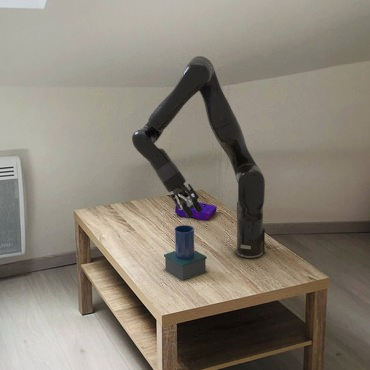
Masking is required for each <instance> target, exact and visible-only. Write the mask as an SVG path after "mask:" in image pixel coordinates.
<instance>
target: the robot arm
mask: <svg viewBox="0 0 370 370" xmlns="http://www.w3.org/2000/svg"><path fill="white" fill-rule="evenodd" d="M198 92H199V93H200V96H201V98H202V100H203V104H204V108H205V113H206V117H207V121H208V123H209V126H210V129H211V131H212V133H213V135H214V137H215V139H216V141H217V142H218V144H219V146H220V147H221V149H222V150H223V152H224V153H225V154H226V156H227V157H228V159H229V161H230V164H231V167H232V169H233V172H234V176H235V180H236V183H237V201H236V254H237V256H238V257H241V258H245V259H255V258H256V259H257V258H258V257H259V258H260V257H261V256H262V255H263V253H264V254H265V240H266V237H265V235H266V229H265V227H264V204H265V195H266V194H265V191H266V180H265V176H264V174H263V172H262V170H261V168H260V167H259V166H258V164H257V163H256V161H255V160H254V158H253V156H252V154H251V152H250V151H249V149H248V146H247V143H246V138H245V137H244V133H243V130H242V128H241V125H240V123H239V121H238V119H237V116H236V115H235V113H234V111H233V109H232V107H231V105H230V102H229V101H228V99H227V97H226V95H225V93H224V91H223V89H222V87H221V84H220V82H219V79H218V76H217V73H216V70H215V67H214V64H213V63H212V61H211V60H210V59H208V58H207V57H205V56H202V55H196V56H194V57H193V58H191V60H190V61H189V62H188V63H187V64H186V66H185V68H184V71H183V72H182V75H181V77H180V78H179V80H178V82H177V84H176V86H175V87H174V88H173V89H172V91H171V92H170V93H169V94H167V96H166V97H164V99H163V100H162V101H161V102H160V103H159V104H158V105H157V107H156V108H155V109H154V110H153V112H151V114H150V115H149V117H148V119H147V120H148V121H147V123H145V125H143V127H142V128H140V129H137V130H136V131H134V132H133V133H132V135H131V142H132V145H133V147H134V148H135V150H136V151H137V152H138V153H139V154H140V156H142V157H143V158H144V159H145V160H146V161H148V162H149V164H150V166H151V167H152V169H153V170H154V172H155V174H156V176H157V177H158V179H159V181H160V182H161V183H162V185H163V186H164V188H165V190H166V191H167V192H168V193H172V194H171V195H170V198H171V199H172V201H173V202H174V204H175V207H176V206H177V207H178V209H180V208H181V209H183V210H184V212H185V213H186V215H187V216H188V217H187V218H192V217H191V216H192V215H193V213H192V211H191V210H190V208H189V207H188V206H187V202H186V201H189V202H190V203H191V204H192V205H193V207H194V208H195V210H196V211H197V213H199V212H201V211H202V210H203V209H202V207H201V206H200V204H199V203H198V202H199V198H200V197H199V195H198V194H197V192H196V190H194V188H193V186H192V185H191V184H190V183H187V184H186V185H185V183H186V182H187V180H186V178H185V176H184V175H183V174H182V172H181V171H180V170H179V168H178V166H177V165H176V164H175V162H174V161H173V160H172V158H171V157H170V156H169V154H168V152H166V150H165V149H164V148H162V147H161V148H160V147H158V146H157V145H156V144H155V143H157V142H158V140H159V139H160V137H161V136H162V135H163V132H164V130H165V129H167V127H169V125H170V124H171V123H172V122H173V120H174V119H175V118H176V117H177V115H179V113H180V111H181V110H182V109H183V107H184V106H185V105H186V104H187V102H188V101H189V100H191V98H193V97H194V96H195V95H196V94H198Z"/></svg>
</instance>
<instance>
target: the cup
mask: <svg viewBox="0 0 370 370" xmlns="http://www.w3.org/2000/svg"><path fill="white" fill-rule="evenodd" d="M174 251H175V256H176V257H177V258H178V259H183V260H186V259H191V258H193V257H194V254H195V251H196V250H195V228H194V226H192V225H188V224H182V225H177V226H175V227H174Z"/></svg>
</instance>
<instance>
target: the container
mask: <svg viewBox="0 0 370 370" xmlns="http://www.w3.org/2000/svg"><path fill="white" fill-rule="evenodd" d="M163 257H164V263H165V271H166V272H168V273H170V274H171V275H173V276H174V277H176V278H177V279H180V280H181V281H185V280H188V279H190V278H194V277H196V276H199V275H201V274H204V273H206V271H207V270H206V268H207V266H206V261H207V259H208V257H207V255H204V254H203V253H201V252H199V251H197V250H195V254H194V257H193V258H191V259H186V260H183V259H178V258H177V257H176V256H175V250H173V251H170V252H167V253H165V254H164V253H163Z"/></svg>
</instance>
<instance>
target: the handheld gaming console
mask: <svg viewBox="0 0 370 370" xmlns="http://www.w3.org/2000/svg"><path fill="white" fill-rule="evenodd" d="M186 202H187V206H188V207H189V208H190V210H191V211H192V213H193V215H192V216H191V217H190V218H194V219H197V220H200V221H209V220H210V219H211V218H212V217H213V215H214V214H216V212H217V208H218V206H217V205H213V204H209V203H205V202H200V201H198V203H199V204H200V206H201V207H202V209H203V210H202V211H201V212H199V213H197V211H196V210H195V208H194V207H193V205H192V204H191V203H190V202H189V201H186ZM174 213H175V214H176V215H178V216H180V217H184V218H189V217H188V216H187V215H186V213H185V212H184V210H183V209H181V208H180V209H178V207H177V206H176V205H175V210H174Z"/></svg>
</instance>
